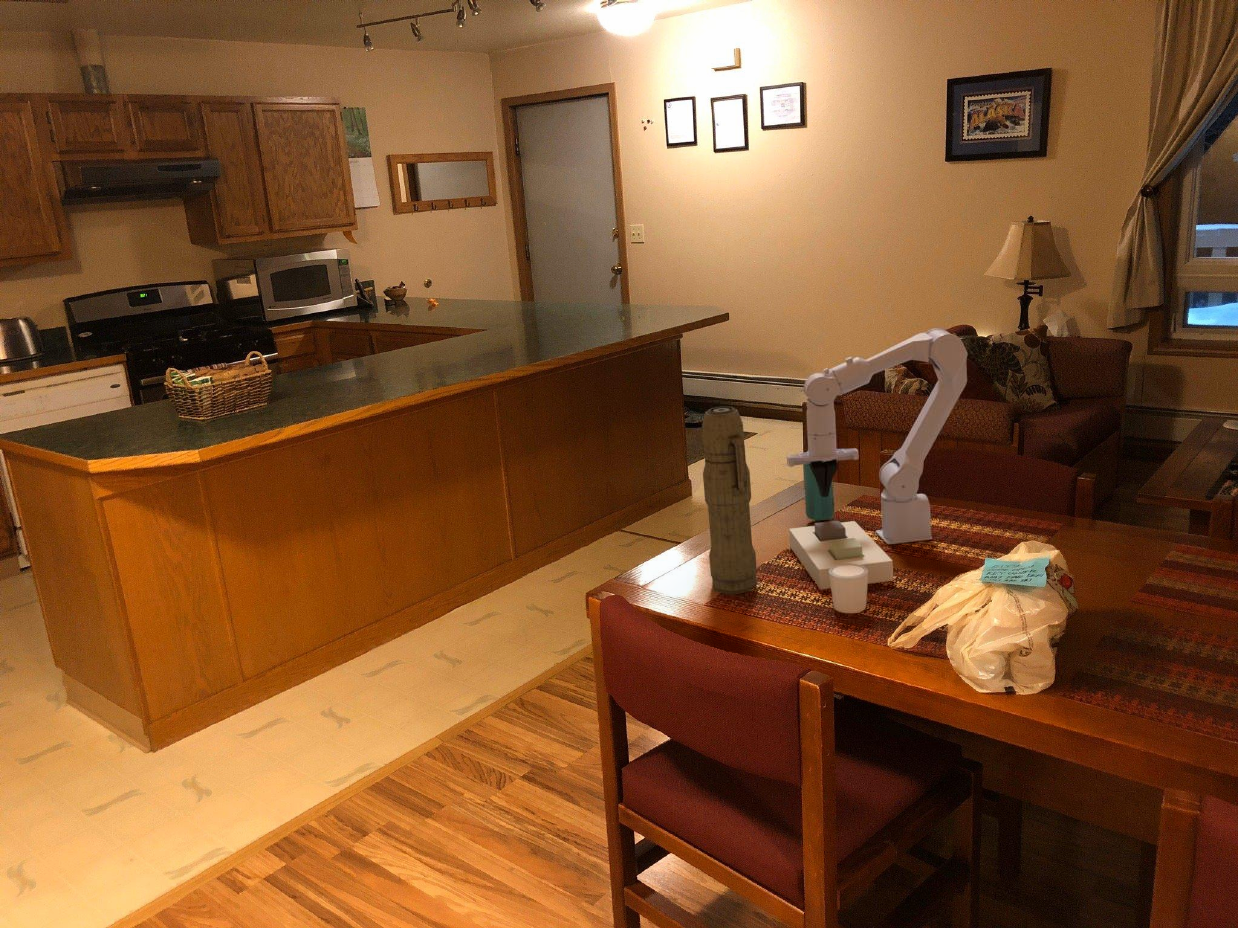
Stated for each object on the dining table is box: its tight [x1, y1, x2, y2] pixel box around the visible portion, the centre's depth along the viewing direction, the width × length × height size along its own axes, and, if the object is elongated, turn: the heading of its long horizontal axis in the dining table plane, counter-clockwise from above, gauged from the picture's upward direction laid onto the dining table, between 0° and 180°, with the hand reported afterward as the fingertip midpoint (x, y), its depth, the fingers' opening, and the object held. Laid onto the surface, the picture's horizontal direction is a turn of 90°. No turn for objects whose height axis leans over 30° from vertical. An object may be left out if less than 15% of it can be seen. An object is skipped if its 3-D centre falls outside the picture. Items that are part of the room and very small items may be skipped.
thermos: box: [701, 406, 758, 595], centre depth 185 cm, size 9×12×35 cm
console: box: [788, 520, 894, 590], centre depth 195 cm, size 14×24×4 cm, turn 4°
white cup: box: [829, 564, 868, 614], centre depth 174 cm, size 7×7×7 cm
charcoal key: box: [814, 520, 846, 541], centre depth 199 cm, size 5×5×3 cm
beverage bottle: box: [802, 436, 836, 521], centre depth 217 cm, size 6×7×20 cm
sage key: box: [829, 538, 862, 560], centre depth 189 cm, size 5×5×3 cm
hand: (824, 495), depth 204 cm, fingers closed
